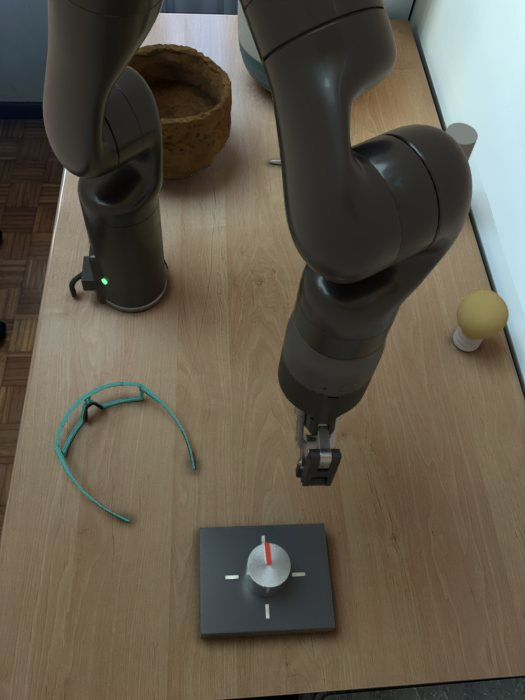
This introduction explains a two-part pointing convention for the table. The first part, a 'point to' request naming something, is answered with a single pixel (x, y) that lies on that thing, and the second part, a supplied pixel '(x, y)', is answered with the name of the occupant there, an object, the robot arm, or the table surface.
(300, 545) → the panel
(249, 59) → the planter
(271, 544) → the dial
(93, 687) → the table surface
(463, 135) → the container
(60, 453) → the teal curved thin frame
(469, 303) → the light bulb
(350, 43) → the robot arm
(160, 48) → the bowl
